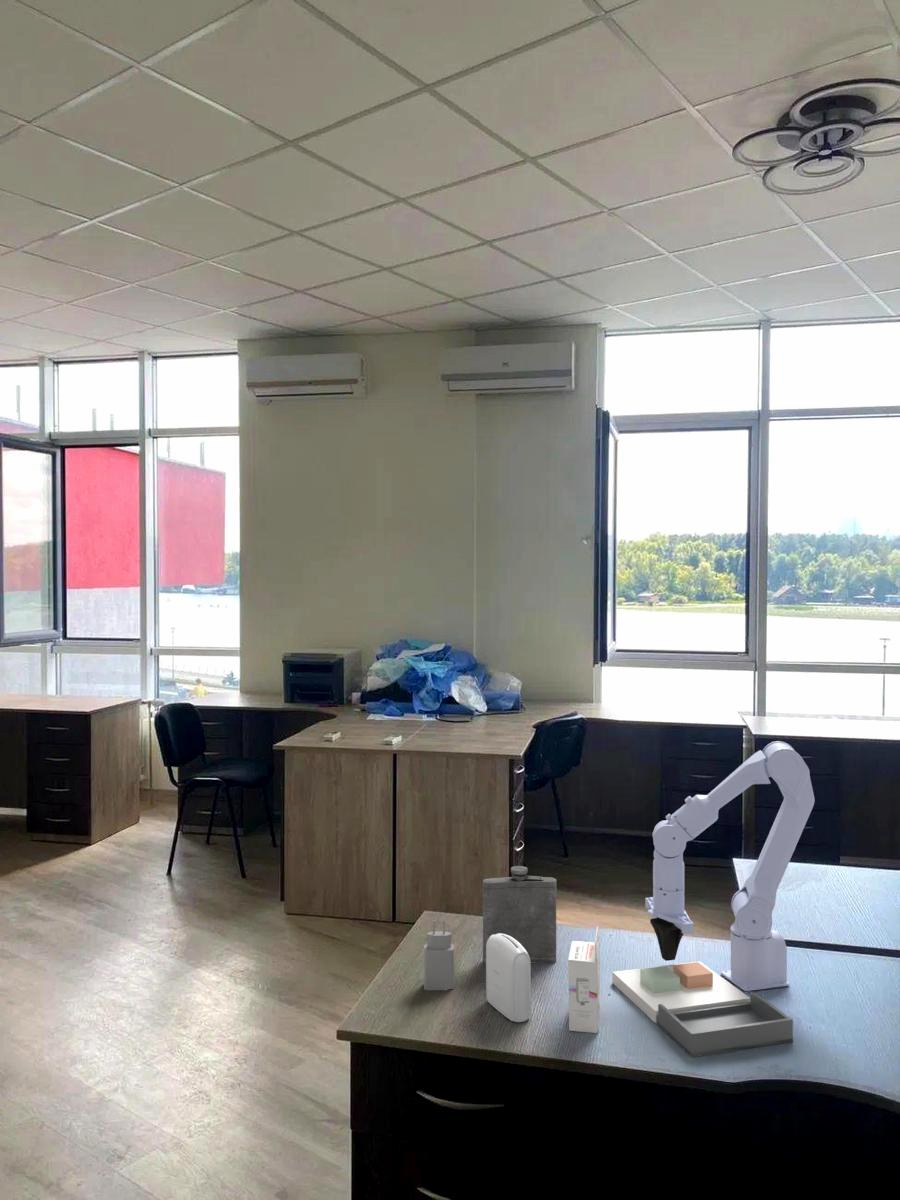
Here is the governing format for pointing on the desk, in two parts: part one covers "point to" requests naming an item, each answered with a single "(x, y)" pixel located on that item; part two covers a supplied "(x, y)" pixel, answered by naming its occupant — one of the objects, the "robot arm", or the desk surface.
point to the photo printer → (508, 977)
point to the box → (727, 1027)
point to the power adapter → (438, 960)
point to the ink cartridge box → (584, 985)
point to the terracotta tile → (693, 975)
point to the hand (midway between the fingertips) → (668, 958)
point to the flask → (522, 912)
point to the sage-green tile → (660, 979)
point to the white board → (677, 993)
